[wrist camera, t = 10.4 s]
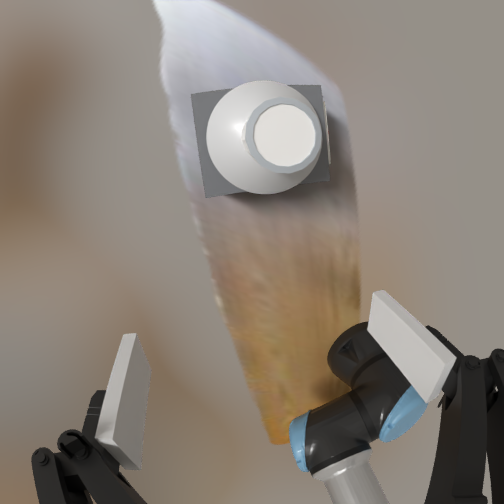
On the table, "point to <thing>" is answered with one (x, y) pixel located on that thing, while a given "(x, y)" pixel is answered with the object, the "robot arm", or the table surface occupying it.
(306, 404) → the table surface
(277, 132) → the shot glass
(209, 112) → the dial scale
